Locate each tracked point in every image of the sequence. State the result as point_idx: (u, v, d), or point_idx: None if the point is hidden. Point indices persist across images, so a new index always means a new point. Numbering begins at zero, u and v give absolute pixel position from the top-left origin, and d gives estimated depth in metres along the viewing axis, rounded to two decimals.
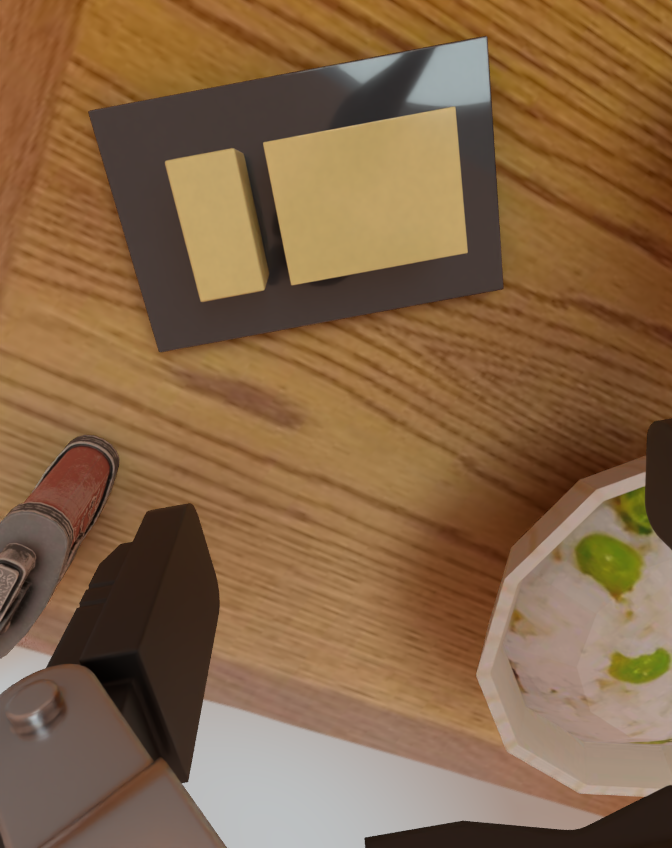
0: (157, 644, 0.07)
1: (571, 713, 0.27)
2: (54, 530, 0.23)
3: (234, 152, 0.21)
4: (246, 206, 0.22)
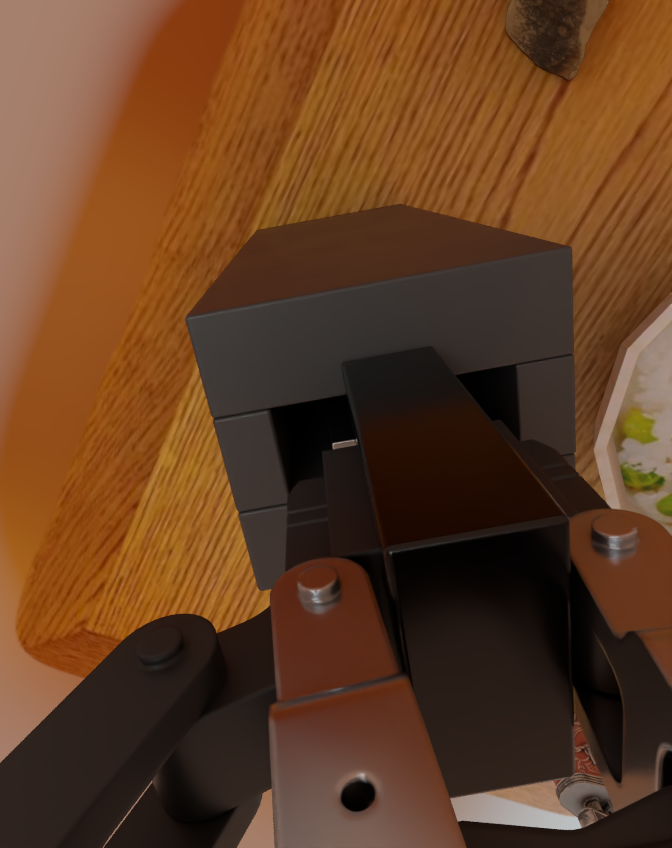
0: None
1: None
2: (575, 787, 0.40)
3: None
4: None
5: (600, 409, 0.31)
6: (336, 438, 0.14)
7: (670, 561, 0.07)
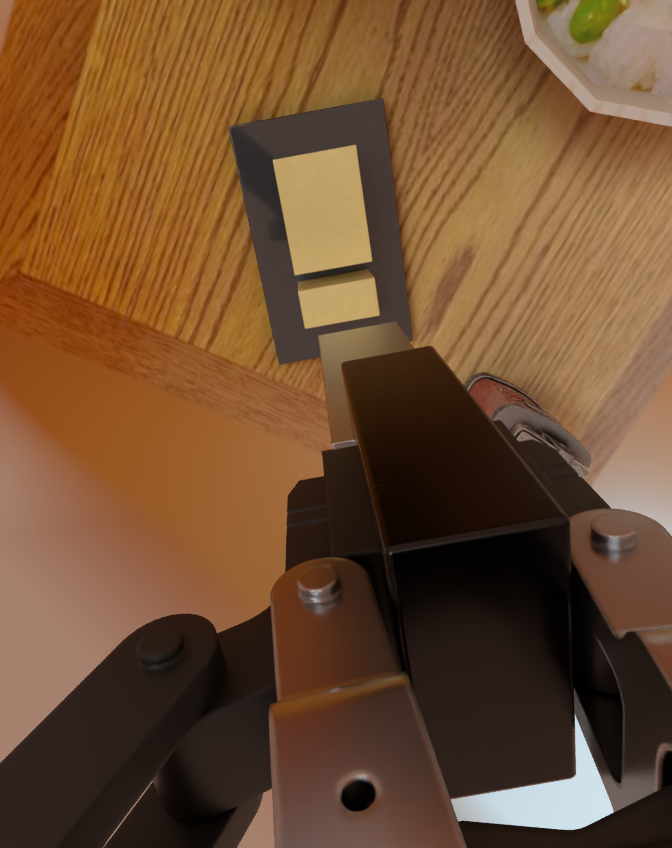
0: None
1: None
2: (506, 411, 0.40)
3: (300, 291, 0.38)
4: (327, 286, 0.38)
5: None
6: (336, 438, 0.14)
7: (670, 561, 0.07)
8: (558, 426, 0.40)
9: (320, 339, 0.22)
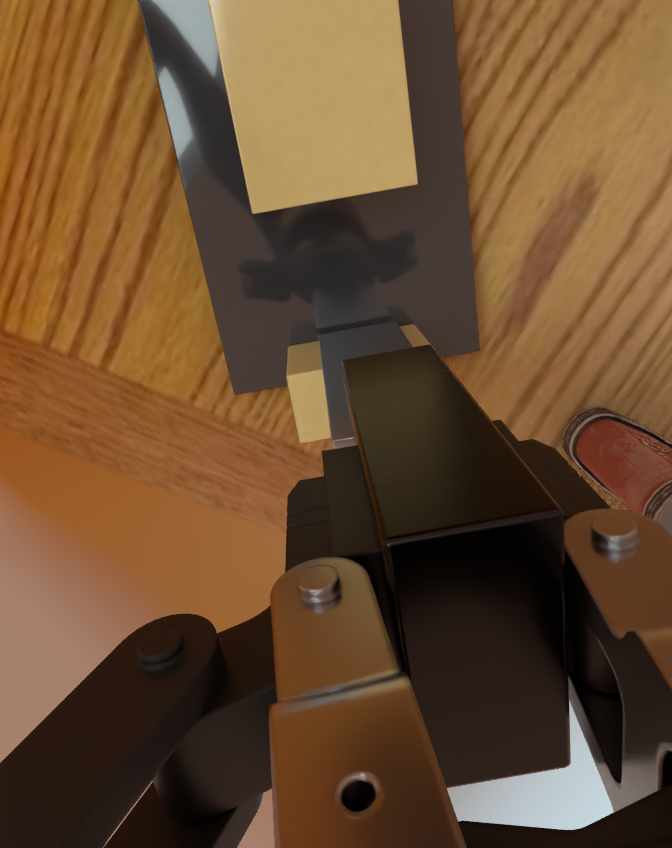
0: None
1: None
2: None
3: (290, 375, 0.20)
4: None
5: None
6: (336, 436, 0.14)
7: (670, 561, 0.07)
8: None
9: (320, 338, 0.22)
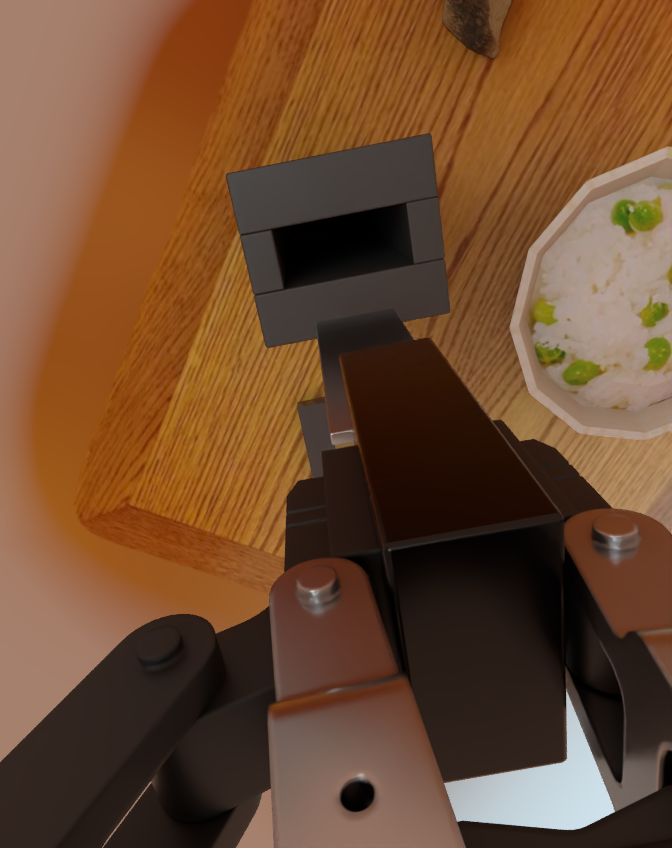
0: None
1: None
2: None
3: None
4: None
5: None
6: (334, 428, 0.14)
7: (671, 561, 0.07)
8: None
9: (317, 326, 0.22)
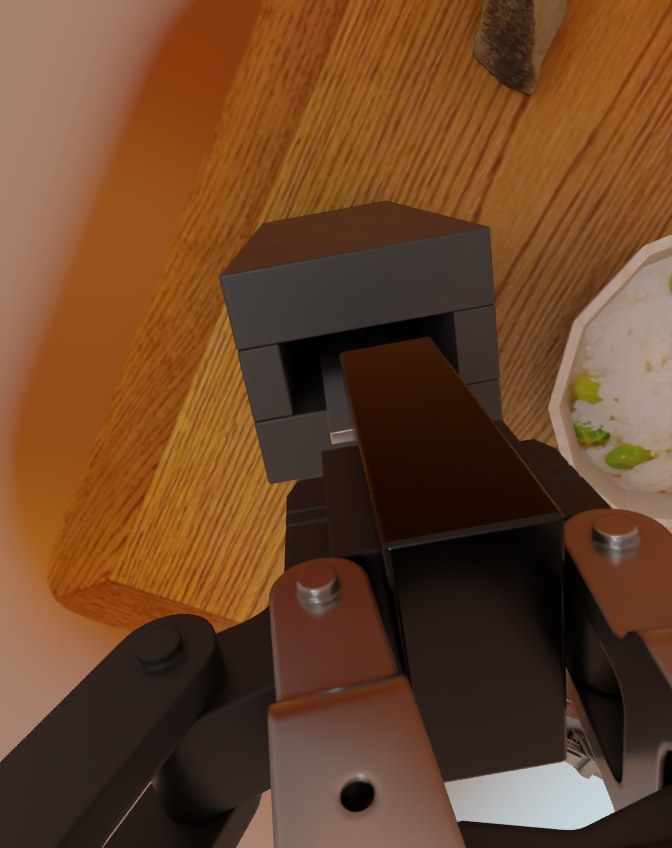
0: None
1: None
2: None
3: None
4: None
5: (556, 376, 0.36)
6: (334, 428, 0.14)
7: (671, 561, 0.07)
8: None
9: None
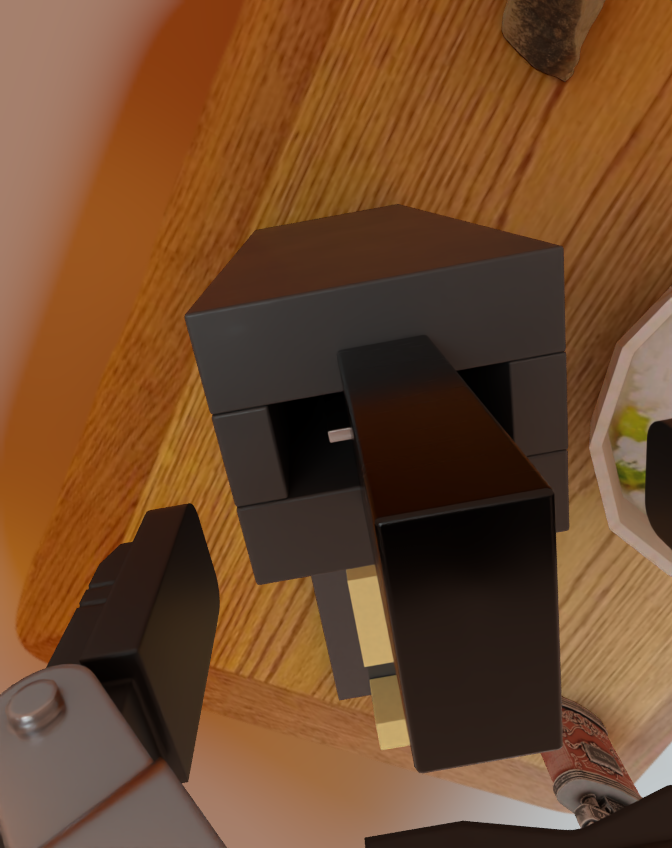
0: (157, 644, 0.07)
1: None
2: (572, 784, 0.40)
3: (377, 724, 0.40)
4: (404, 718, 0.40)
5: (596, 407, 0.31)
6: (332, 426, 0.14)
7: None
8: (622, 792, 0.41)
9: None
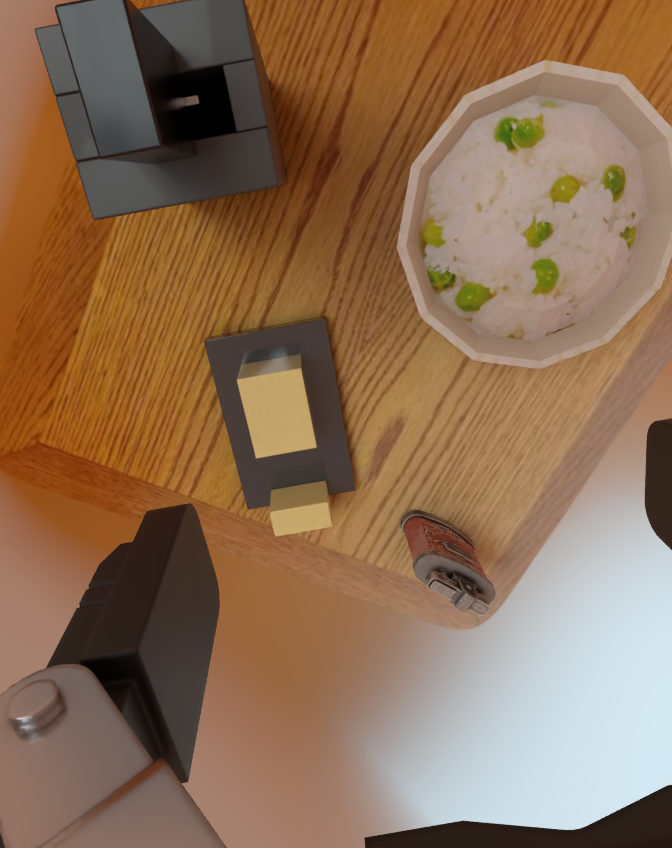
0: (157, 644, 0.07)
1: (587, 301, 0.42)
2: (425, 559, 0.50)
3: (270, 512, 0.50)
4: (292, 507, 0.50)
5: None
6: None
7: None
8: (467, 569, 0.51)
9: None
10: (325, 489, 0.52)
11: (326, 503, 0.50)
